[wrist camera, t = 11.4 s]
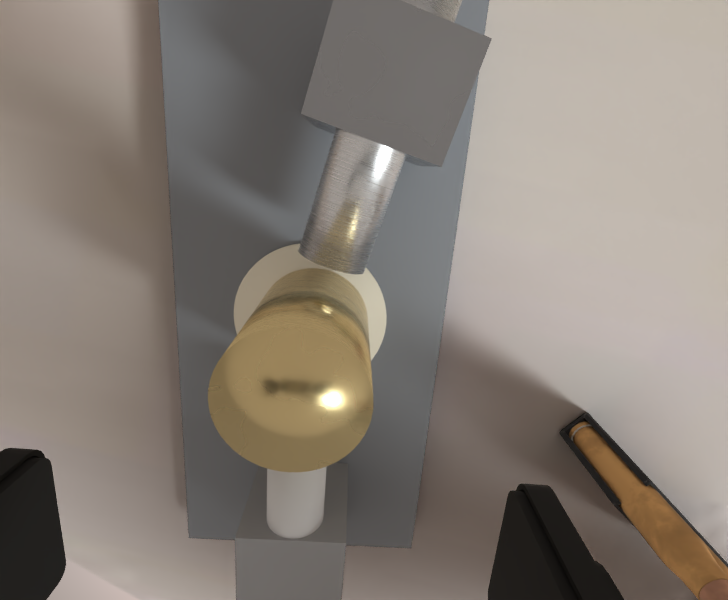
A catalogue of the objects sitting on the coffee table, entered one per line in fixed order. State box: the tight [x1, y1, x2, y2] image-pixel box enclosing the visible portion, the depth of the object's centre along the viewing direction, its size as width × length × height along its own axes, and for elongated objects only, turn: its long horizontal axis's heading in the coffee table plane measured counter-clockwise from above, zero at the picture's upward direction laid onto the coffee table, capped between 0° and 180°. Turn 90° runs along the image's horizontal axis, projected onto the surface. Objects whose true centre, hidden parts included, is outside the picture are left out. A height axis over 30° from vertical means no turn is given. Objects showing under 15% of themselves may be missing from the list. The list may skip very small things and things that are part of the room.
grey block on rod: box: [298, 0, 492, 274], centre depth 15 cm, size 9×4×5 cm, turn 161°
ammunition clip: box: [560, 413, 728, 600], centre depth 19 cm, size 11×2×12 cm, turn 44°
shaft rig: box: [158, 0, 489, 600], centre depth 18 cm, size 26×12×6 cm, turn 175°
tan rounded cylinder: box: [208, 268, 373, 472], centre depth 16 cm, size 5×5×7 cm
